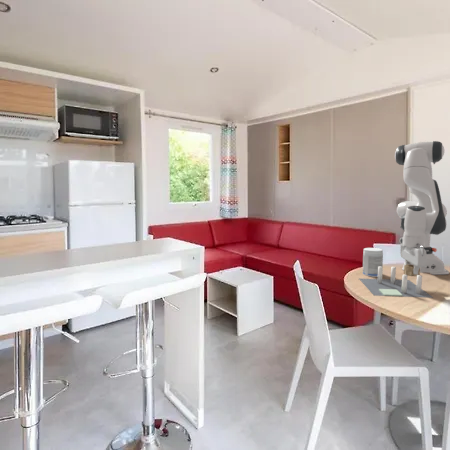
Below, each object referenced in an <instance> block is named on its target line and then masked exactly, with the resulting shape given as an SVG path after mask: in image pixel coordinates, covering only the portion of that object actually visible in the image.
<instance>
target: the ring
mask: <svg viewBox="0 0 450 450" xmlns="http://www.w3.org/2000/svg"><path fill="white" fill-rule="evenodd" d="M403 265H404V264H403ZM413 270H414V265H408V264H407V265H404V270H403V275H408V277H416V278H417V275H421V273H420V268H419V270H418V274H413Z"/></svg>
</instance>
